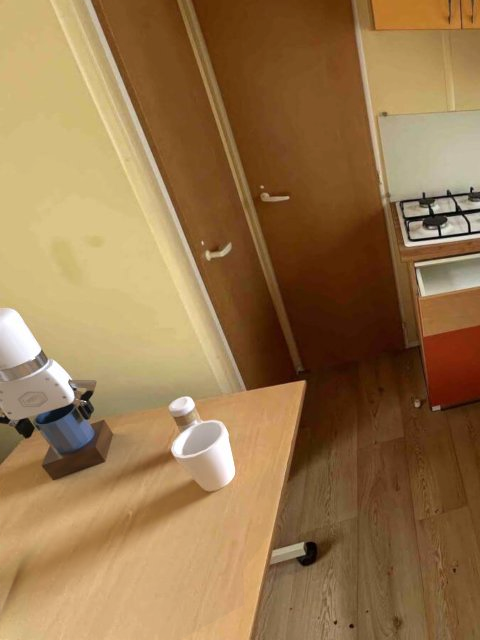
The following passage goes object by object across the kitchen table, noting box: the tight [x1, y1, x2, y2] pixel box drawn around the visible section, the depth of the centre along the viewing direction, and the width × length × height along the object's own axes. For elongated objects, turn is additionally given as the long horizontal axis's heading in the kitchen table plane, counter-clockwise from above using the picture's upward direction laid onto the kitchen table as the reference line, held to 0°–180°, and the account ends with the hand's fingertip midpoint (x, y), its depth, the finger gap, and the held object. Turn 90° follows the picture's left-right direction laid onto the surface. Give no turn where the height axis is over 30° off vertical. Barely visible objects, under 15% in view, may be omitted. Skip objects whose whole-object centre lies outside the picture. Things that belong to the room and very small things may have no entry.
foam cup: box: [170, 419, 236, 493], centre depth 91 cm, size 10×9×13 cm
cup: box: [32, 403, 95, 454], centre depth 94 cm, size 7×7×9 cm
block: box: [40, 419, 114, 481], centre depth 97 cm, size 9×9×5 cm
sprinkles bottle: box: [167, 396, 204, 434], centre depth 99 cm, size 5×5×14 cm
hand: (60, 424), depth 93 cm, fingers open, 9 cm apart
